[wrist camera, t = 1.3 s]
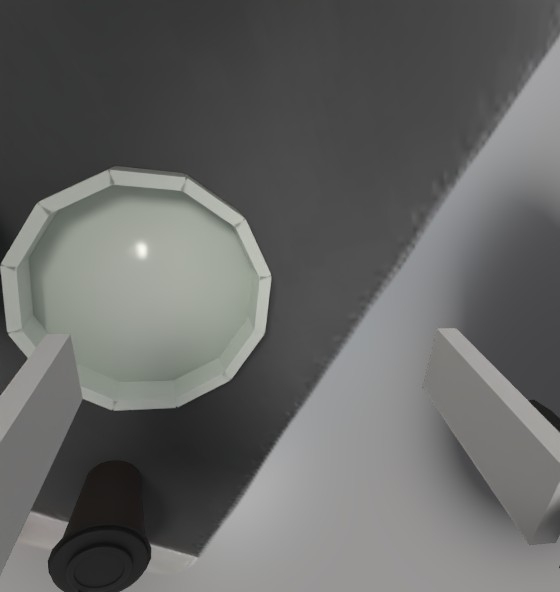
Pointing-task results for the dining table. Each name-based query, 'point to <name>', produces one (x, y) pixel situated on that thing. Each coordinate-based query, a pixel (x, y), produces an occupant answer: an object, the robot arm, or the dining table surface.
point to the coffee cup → (103, 534)
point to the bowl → (139, 286)
